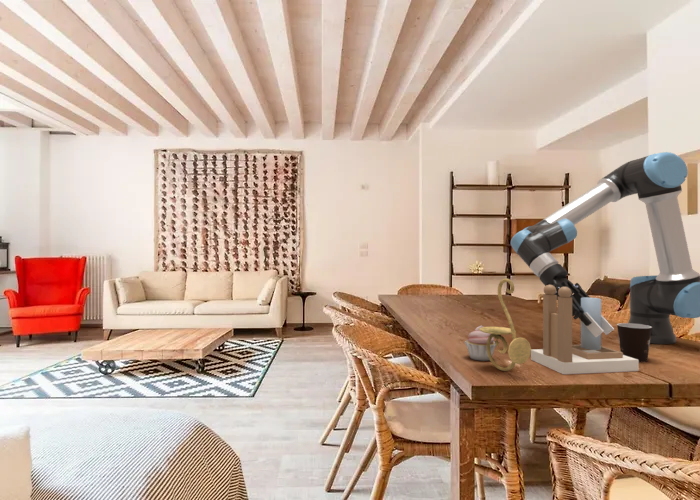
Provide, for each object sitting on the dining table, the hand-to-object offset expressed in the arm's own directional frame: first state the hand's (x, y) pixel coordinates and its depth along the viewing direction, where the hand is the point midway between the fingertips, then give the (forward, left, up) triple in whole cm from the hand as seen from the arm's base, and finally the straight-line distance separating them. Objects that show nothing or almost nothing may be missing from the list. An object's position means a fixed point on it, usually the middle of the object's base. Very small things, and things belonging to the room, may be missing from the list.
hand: (604, 332), depth 116 cm
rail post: (+2, -3, -5) cm, 6 cm away
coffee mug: (-17, -7, -10) cm, 21 cm away
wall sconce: (+29, -1, -10) cm, 31 cm away
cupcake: (+29, -14, -10) cm, 34 cm away
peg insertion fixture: (+4, -3, -10) cm, 11 cm away
